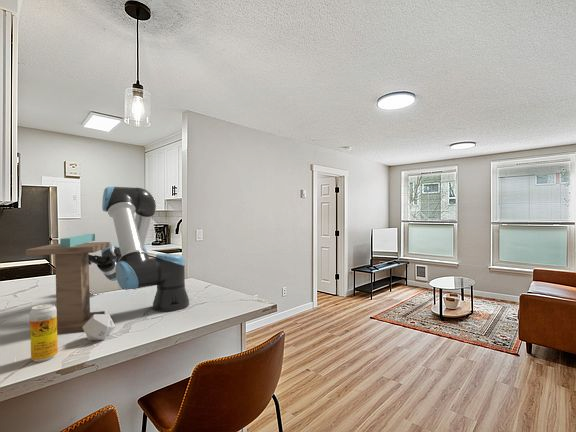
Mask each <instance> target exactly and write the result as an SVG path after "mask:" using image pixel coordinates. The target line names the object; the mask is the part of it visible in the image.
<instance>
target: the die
mask: <svg viewBox="0 0 576 432" xmlns="http://www.w3.org/2000/svg"><path fill="white" fill-rule="evenodd" d="M82 328H83V330H84V331H83V332H84V334H85V336H86V337H87V340H88V341H105V340H106V339H107V338H108V337H109V335H111V333H112V332H113V330H114V329H115V328H116V325H115V323H114V321H113V319H112V317H111V315H110V313H105V314H94V315H93V316H92V317H91V318H90V319H89V320H88V321H87V323H86V324H85V325H84V326H83V327H82Z"/></svg>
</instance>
